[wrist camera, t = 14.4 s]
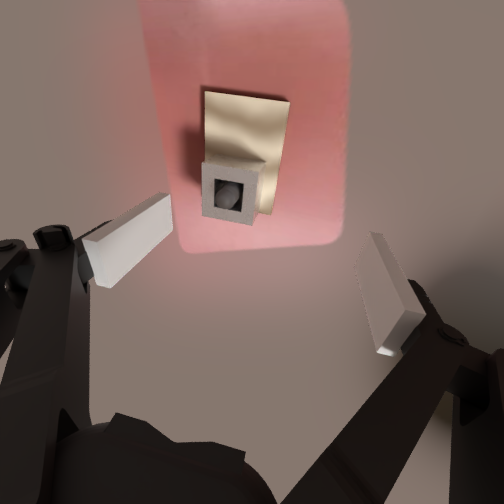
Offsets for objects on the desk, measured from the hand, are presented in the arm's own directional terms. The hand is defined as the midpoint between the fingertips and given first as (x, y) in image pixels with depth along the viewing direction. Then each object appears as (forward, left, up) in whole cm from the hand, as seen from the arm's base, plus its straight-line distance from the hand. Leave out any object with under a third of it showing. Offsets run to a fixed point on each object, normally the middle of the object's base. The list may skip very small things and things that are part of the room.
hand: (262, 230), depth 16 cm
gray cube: (+6, -8, -27) cm, 29 cm away
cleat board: (+2, -8, -29) cm, 30 cm away
